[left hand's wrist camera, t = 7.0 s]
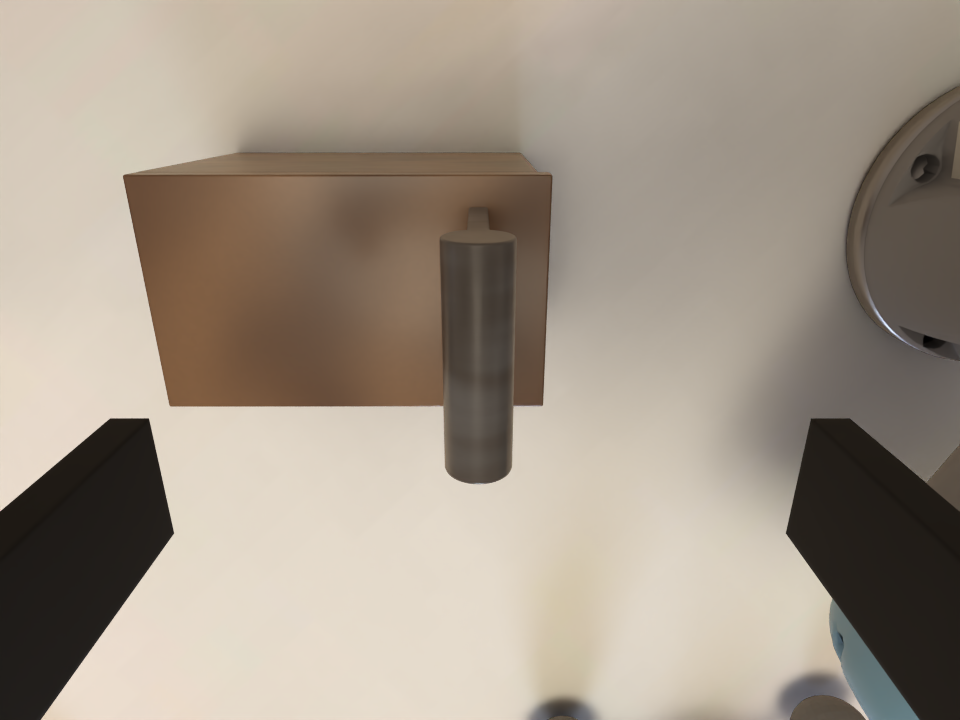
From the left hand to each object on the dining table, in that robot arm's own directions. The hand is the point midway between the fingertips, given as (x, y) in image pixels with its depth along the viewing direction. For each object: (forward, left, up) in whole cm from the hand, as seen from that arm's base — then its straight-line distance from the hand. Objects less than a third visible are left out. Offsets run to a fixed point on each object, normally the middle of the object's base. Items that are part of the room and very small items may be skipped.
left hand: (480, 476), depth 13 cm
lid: (+5, -2, -14) cm, 15 cm away
